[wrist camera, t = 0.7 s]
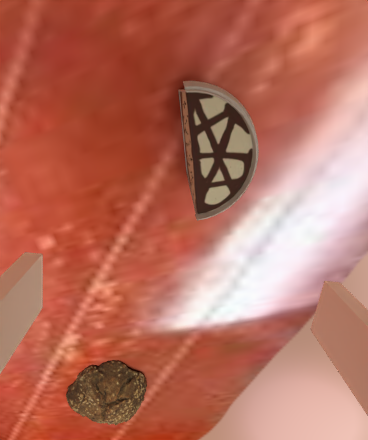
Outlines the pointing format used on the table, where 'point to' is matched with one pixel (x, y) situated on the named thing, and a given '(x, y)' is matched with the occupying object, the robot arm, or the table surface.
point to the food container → (216, 147)
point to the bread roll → (107, 392)
